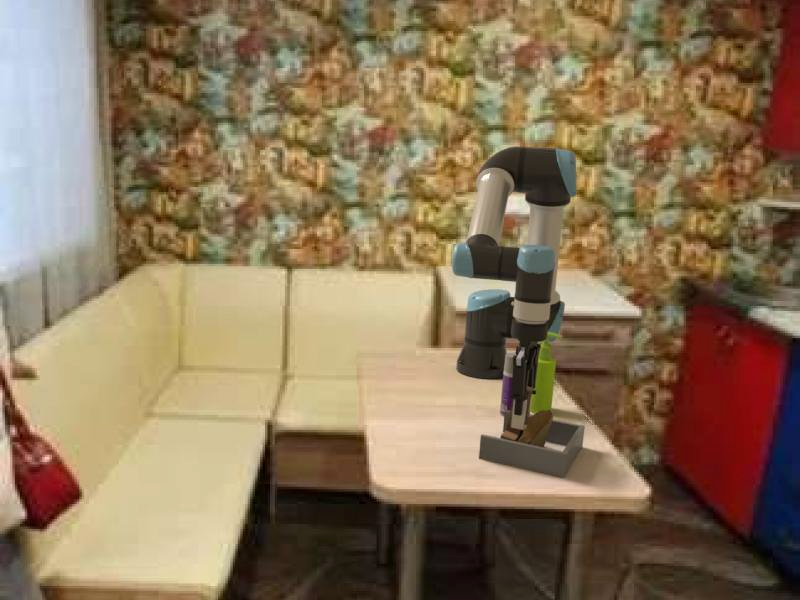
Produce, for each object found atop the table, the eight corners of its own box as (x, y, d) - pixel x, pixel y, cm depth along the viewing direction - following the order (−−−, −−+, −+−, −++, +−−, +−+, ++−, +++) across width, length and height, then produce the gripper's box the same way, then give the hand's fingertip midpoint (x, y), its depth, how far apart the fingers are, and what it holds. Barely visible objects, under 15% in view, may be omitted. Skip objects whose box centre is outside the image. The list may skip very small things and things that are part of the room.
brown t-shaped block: (511, 437, 177) (524, 379, 173) (524, 441, 176) (537, 383, 172) (497, 452, 168) (510, 391, 164) (510, 457, 167) (524, 396, 163)
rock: (523, 457, 162) (564, 447, 166) (511, 417, 164) (551, 407, 168) (501, 466, 171) (540, 456, 175) (489, 428, 174) (528, 418, 177)
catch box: (504, 430, 182) (506, 410, 181) (582, 447, 175) (584, 425, 174) (478, 458, 166) (480, 435, 165) (563, 477, 159) (566, 454, 158)
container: (518, 418, 190) (524, 359, 186) (499, 416, 191) (504, 356, 187) (519, 412, 194) (525, 353, 191) (500, 410, 195) (505, 351, 192)
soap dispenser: (549, 417, 192) (557, 337, 188) (523, 410, 196) (530, 332, 191) (558, 410, 197) (566, 333, 193) (532, 404, 200) (539, 328, 196)
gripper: (523, 310, 174) (514, 410, 179) (501, 324, 159) (491, 433, 164) (557, 315, 171) (546, 417, 176) (537, 330, 156) (526, 441, 161)
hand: (520, 425), depth 170 cm, fingers closed on brown t-shaped block, 3 cm apart
